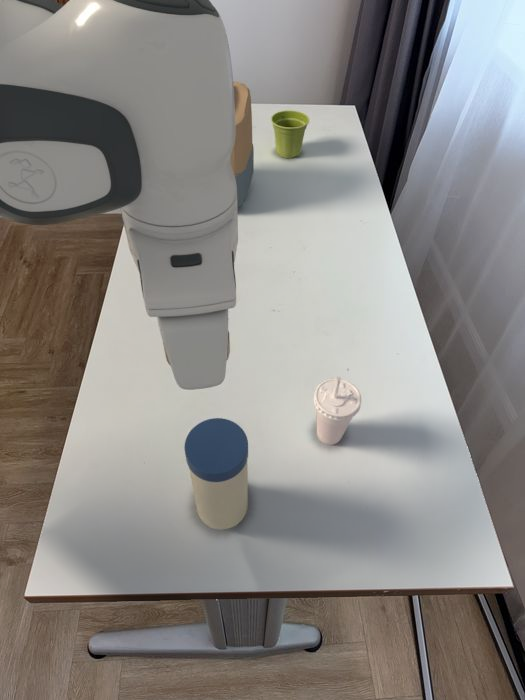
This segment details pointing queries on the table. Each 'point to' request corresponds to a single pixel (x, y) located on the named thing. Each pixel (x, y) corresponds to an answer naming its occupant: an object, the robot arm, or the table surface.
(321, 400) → the smoothie
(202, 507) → the bottle
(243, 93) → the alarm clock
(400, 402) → the table surface
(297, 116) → the plant pot
